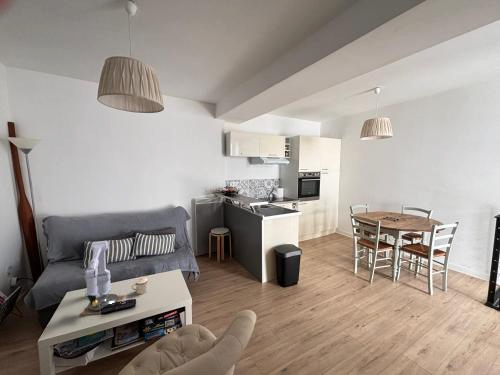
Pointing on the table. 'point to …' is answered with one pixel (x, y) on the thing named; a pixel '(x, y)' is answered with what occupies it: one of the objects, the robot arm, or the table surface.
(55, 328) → the table surface
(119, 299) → the base plate
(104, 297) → the handwheel
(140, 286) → the teacup with lid
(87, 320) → the table surface
